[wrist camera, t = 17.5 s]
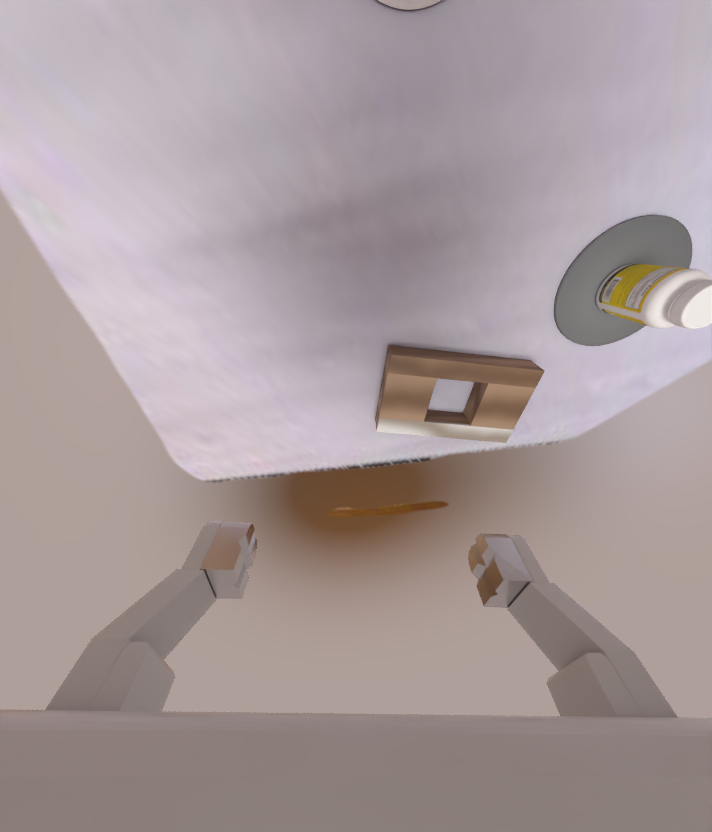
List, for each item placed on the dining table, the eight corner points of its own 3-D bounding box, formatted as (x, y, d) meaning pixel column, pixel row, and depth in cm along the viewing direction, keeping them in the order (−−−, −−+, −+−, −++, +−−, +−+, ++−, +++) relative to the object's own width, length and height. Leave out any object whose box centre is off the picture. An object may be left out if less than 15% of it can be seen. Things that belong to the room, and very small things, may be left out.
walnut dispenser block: (388, 345, 37) (391, 354, 34) (530, 360, 38) (544, 370, 35) (375, 418, 43) (376, 431, 41) (496, 429, 45) (506, 442, 42)
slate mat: (596, 206, 29) (601, 206, 28) (718, 224, 30) (725, 224, 29) (533, 338, 36) (536, 340, 36) (632, 349, 37) (635, 351, 37)
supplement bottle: (648, 293, 33) (745, 314, 25) (598, 321, 35) (674, 349, 26) (642, 251, 30) (748, 258, 22) (589, 283, 32) (669, 300, 24)
